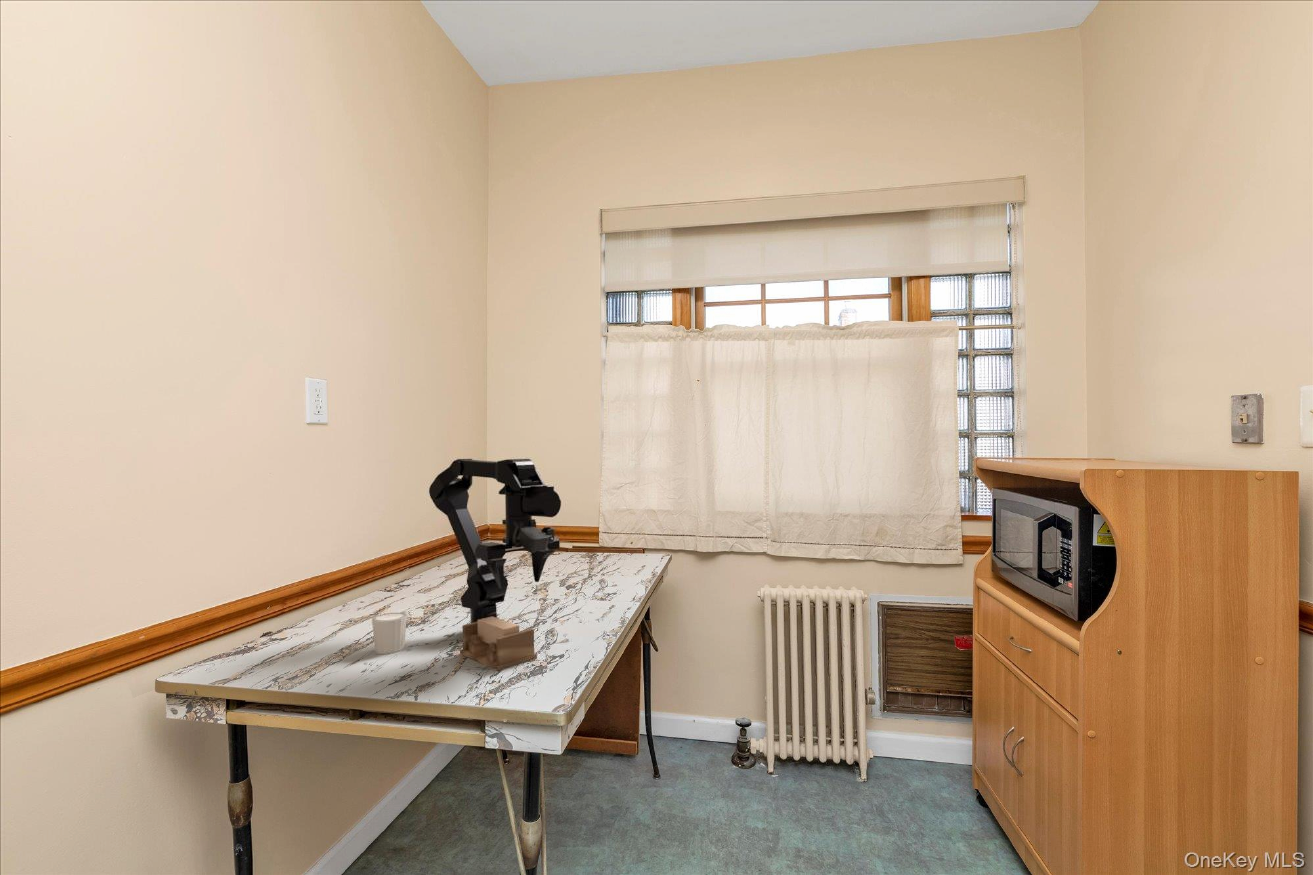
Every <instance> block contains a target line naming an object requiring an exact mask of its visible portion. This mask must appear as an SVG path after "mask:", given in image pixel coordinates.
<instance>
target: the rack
mask: <svg viewBox="0 0 1313 875" xmlns="http://www.w3.org/2000/svg"><path fill="white" fill-rule="evenodd" d="M496 618H499V617H498V616H497V617H496ZM459 654H460V655H462V656H464V657H466V658H469V659H470V660H473V661H475V662H478V663H480V664H482V665H485V666H487V667H488V668H491V669H494V670H495V671H497V672H498V671H500V670H505V669H508V668H510V667H513V666H517V665H520V664H523V663H525V662H530V661H533V660H536V659H538V654H537V653H535V629H533V628H529V629H525V630H522V631H519V632H517V633H514V634H510V635H506V636H503V637H499V638H496V643H495V642H491V643H489V644H488V643H486V642H483V641H481V640H480V636H478V622H474V623H471V622H469V623H467V624H463V625H462V649H459Z"/></svg>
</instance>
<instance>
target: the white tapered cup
mask: <svg viewBox="0 0 1313 875" xmlns="http://www.w3.org/2000/svg"><path fill="white" fill-rule="evenodd" d="M407 618H408V614H406V613H404V612H388V613H383V614H379V615H376V616H373V617H372V618H371V623H372V624H371V625H372V632H373V633H372V634H373V642H374V650H375V653H376V654H382V655H384V654H394V653H397V652H400V651H402V650H404V648H405V643H406V642H405V640H406V628H407Z"/></svg>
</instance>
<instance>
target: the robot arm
mask: <svg viewBox="0 0 1313 875" xmlns="http://www.w3.org/2000/svg"><path fill="white" fill-rule="evenodd" d="M459 476H461V478H459ZM473 477H476V478H477V477H478V478H489V479H493V480H496V481H497V482H498V483H500V484H502V485H503V487H502V488H501V489H499V491H498V494H499V495H503V496H505V497H504V499H505V509H504V510H505V519H502V520H501V521H502V522H501V523H502V525H505V537H502V543H500V542H494V541H491V542H490V541H489V542H484V543H483V541H482V539H481V537H480V534H479V532H478V530H477V527H476V525H475V522H474V521H473V519H472V515H471V514H470V512H469V509H468V503H469V499H470V495H469V489H471V487H472V486H473ZM428 493H429V497H430V499H431V500H432V502H433V504H434V506H435V508H437V509H438V510H440V512H441V513H443V514H444V515H445V516H446V517H447V519H448V521H449V524H450V526H451V529H452V532H453V533H454V536H455V538H456V540H457V543H458V545H459V548H460V551H461V553H462V555H463V558H464V560H465V563H466V564H467V567H468V572H467V577H466V584H467V587H468V588H466V590H465V591H464V593H462V595H461V596H460V602H461V606H462V608H466V609H470V616H469V618H470V622H469V623H474V622H478V620H480V619H484V618H488V617H492V616H493V617H498V612H497V611H498V610H497V604H498V603H503V602H504V601H505V597H506V593H507V591H508V590H507V589H508V586H509V582H508V578H507V577H508V574H507V573H506V571H505V569H504V568H505V563H506V562H507V558H504V557H505V556H506V554H507V553H513V552H520V551H527V552H528V553H530V556H531V565H532V573H533V579H534V582H535V583H539V582H540V579H541V576H542V573H543V570H544V567H545V565H546V562H547V559H548V558H549V557H551V555H552V554H554V553H556V550H558V549H561V541H560V538H559V537H558V536H557V535H555V529H554V527H552V526H545V527H543V528H538V526H537V521H536V519H535V518H534V519H533V517H540V518H541V517H543V518H554V517H556V516H557V515H558V514H559V513H560V510H561V506H562V501H561V498H560V496H559V494H558V493H557V492H556V491H555V485H551V484H550V485H549V484H547V485H545V482H544V480H543V479H542V477H541V475H540V474H539V471H538V470H537V467H536V466H535V463H534V460H532V459H530V458H513V459H512V458H510V459H502V460H498V461H494V460H493V461H490V460H479V459H478V460H477V459H472V458H457V459H455V460H453V461H452V462H451V464H450V465H449V467H447V468H446V469H444V470H443V471H442V472H440V473H439V474H437V475H436V477H435V479H434V480H433V482H432V483H431V484H430V486H429V488H428Z"/></svg>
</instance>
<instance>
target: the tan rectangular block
mask: <svg viewBox="0 0 1313 875" xmlns="http://www.w3.org/2000/svg"><path fill="white" fill-rule="evenodd" d="M517 632H520V625H519V624H516V623H513V622H510V621H507V620H505V619H502V618H499V617H498V618H496V617H493V616H492V617H488V618H484V619H480V620H478V636H480V640H481V641H483V642H486V643H488V644H489V643H491V642H495V643H496V638H499V637H503V636H506V635H510V634H514V633H517Z"/></svg>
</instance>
